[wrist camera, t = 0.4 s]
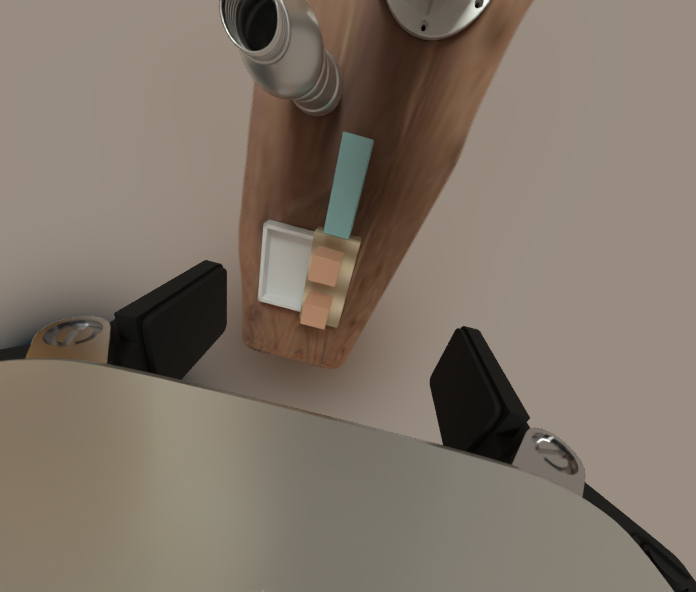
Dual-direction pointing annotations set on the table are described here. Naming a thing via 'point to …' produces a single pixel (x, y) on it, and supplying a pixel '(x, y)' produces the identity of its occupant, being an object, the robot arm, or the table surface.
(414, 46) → the table surface
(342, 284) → the beige gold flat block
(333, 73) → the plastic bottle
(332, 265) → the tan cube
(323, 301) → the peach cube
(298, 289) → the tray
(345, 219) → the bar
